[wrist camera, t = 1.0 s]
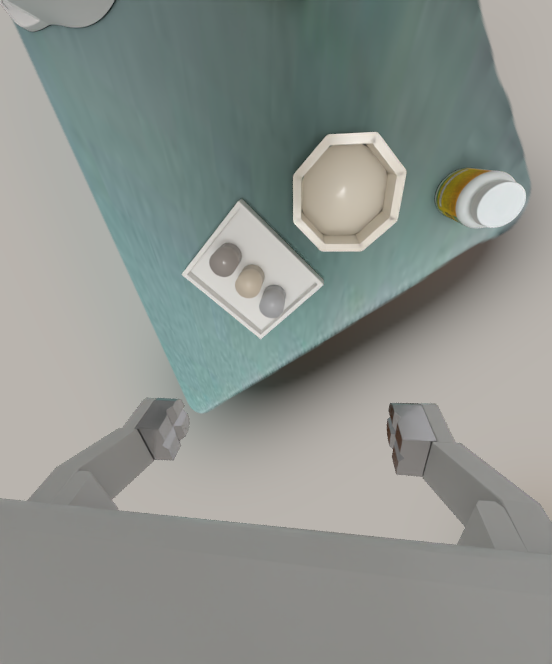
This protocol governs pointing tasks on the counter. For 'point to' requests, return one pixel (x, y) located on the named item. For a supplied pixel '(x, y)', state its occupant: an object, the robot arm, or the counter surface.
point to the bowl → (348, 191)
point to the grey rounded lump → (272, 301)
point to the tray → (259, 250)
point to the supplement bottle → (480, 197)
